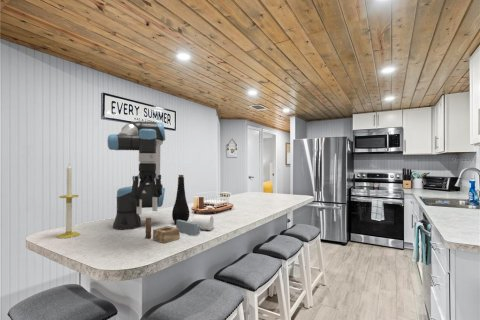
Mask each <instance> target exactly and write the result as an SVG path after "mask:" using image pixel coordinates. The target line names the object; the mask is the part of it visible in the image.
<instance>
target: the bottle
mask: <svg viewBox="0 0 480 320" xmlns="http://www.w3.org/2000/svg"><path fill="white" fill-rule="evenodd" d="M185 188H186V187H185V177H184V174H178V177H177V191H176V197H175V201H174V204H173V207H172V211H171V212H172V213H171V217H172V221H173V222H174V224H175V225H176V220H183V221H188V222H189V218H190V208H189V205H188V202H187V197H186V189H185Z"/></svg>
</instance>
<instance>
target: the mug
mask: <svg viewBox="0 0 480 320" xmlns="http://www.w3.org/2000/svg"><path fill="white" fill-rule="evenodd" d="M192 223H197V225H198V226H200V231H201V230H202V231H203V230H204V231H212V230H213V227H214V216H213V215H206V214H205V215H204V214H194V216H193V218H192Z"/></svg>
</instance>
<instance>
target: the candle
mask: <svg viewBox="0 0 480 320" xmlns="http://www.w3.org/2000/svg"><path fill="white" fill-rule="evenodd" d="M72 171H73V168H72V166H71V164H70V162H69V163H68V166H67V167H66V194H65V195H59V198H60V199H65V202H66V203H65V215H66V216H65V232H64V233H60V234H58V235H57V239H62V238H63V239H71V237H72V238H76V237H79V236H80V235H81V233H80V232H77V231H73V227H72V226H73V225H72V224H73V198H78V197H79V196H80V195H79V194H72V191H73V190H72V189H73V188H72V186H73V183H72V182H73V181H72V180H73V179H72V177H73V174H72V173H73V172H72ZM78 235H79V236H78Z"/></svg>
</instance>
